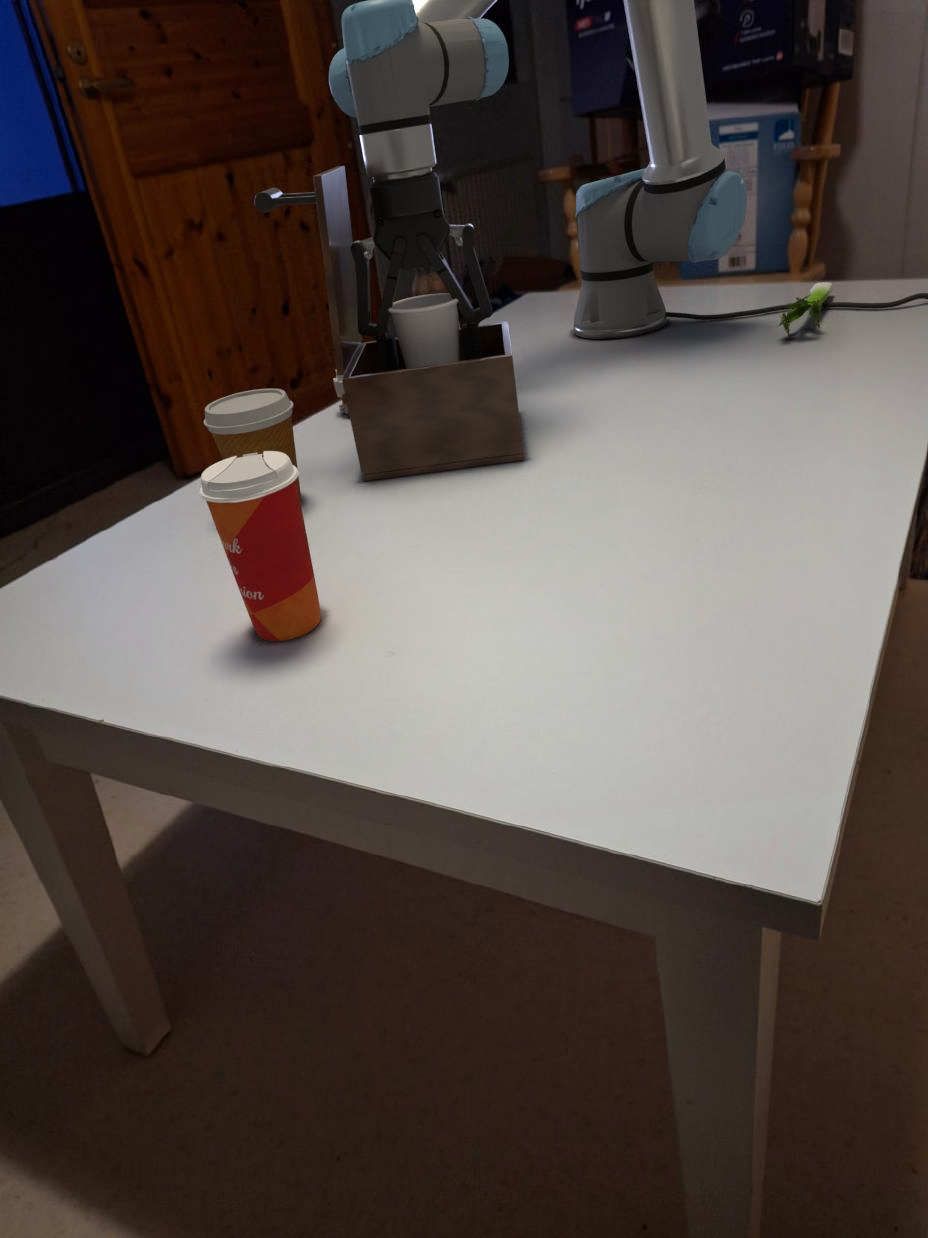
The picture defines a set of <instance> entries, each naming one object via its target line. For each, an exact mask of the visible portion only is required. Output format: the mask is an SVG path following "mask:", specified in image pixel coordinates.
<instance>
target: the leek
mask: <svg viewBox="0 0 928 1238" xmlns="http://www.w3.org/2000/svg"><path fill="white" fill-rule="evenodd" d="M834 290H835V288H834V286H833V283H832V282H828V281H827V282H826V281H822V282H817V283H815V284H813V286H812V287H811V288H810V290H809V296H804V297H803V298H800V297H797V296H794V298H795V299H796V301H795V302H788V303H784V305H786V306H788V305H790V307H789V306H788V307H789V308H788V307H787V308H788V310H789V311H787V314H786V313H785V311H783V312H782V313H781V316H780V320H781V321H780V323H779V324H778V325H777V327H780V326H783V328H784V331H785V332H786V334H787V336H788V338H791V333H790V325H791V324H792V323H793V322H795V321H797V320H798V319H800V318H802V316H803V315H804V314H806V312H807V311H808V310H809V313H808V314H809V317H811V318H813V324H812V326H813V330H815V329H816V327H817V328H818V329H821V325H820V322H821V321H820V319H821V317H820V314H821V310H823V308H821V307H820V308H819V306H820V305H821V306H822V303H823V302H825V301H826V300H828V297H829V296H830V295H831V294H832V293H833V291H834ZM791 305H792V306H791ZM794 307H795V308H794ZM809 307H810V308H809ZM791 308H794V309H791Z"/></svg>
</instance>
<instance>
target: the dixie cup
mask: <svg viewBox="0 0 928 1238" xmlns="http://www.w3.org/2000/svg"><path fill="white" fill-rule="evenodd" d="M457 303H458V299H456V298H455V299H452V297H451V295H450V294H449V293H438V294H428V295H421V296H416V297H413V296H411V297H407V298H403V299H400V300H397V301H395V302H393V306H392V308H390V309H388V312H390V314H391V315H390V318H391V320H392V324H393V326H394V330H395V334H396V338H398V341H399V345H400V348H401V352H402V355H403V358H404V362H405V365H406V369H408V368H415V367H422V366H430V365H437V364H444V363H451V362H458V361H460V347H459V324H460V310H459V309H458V307H457Z"/></svg>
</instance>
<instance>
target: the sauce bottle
mask: <svg viewBox="0 0 928 1238" xmlns="http://www.w3.org/2000/svg"><path fill="white" fill-rule="evenodd" d="M414 270H415V275H414V279H413V282H412V285H411V292H412V297H416V296H421V295H428V294H438V293H449V292H448V290H447V289H446V287H445V285H444V284H443V282H442V280H441V279H440V277H439V275H438V274H437V273H436V271H435V270H434V268H433V266H432V265H431V266H430V267H424V268H423V267H414ZM460 328H461V325H460V323H459V329H460Z"/></svg>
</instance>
